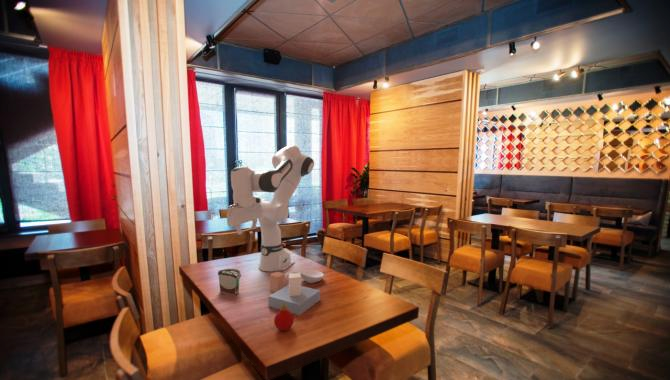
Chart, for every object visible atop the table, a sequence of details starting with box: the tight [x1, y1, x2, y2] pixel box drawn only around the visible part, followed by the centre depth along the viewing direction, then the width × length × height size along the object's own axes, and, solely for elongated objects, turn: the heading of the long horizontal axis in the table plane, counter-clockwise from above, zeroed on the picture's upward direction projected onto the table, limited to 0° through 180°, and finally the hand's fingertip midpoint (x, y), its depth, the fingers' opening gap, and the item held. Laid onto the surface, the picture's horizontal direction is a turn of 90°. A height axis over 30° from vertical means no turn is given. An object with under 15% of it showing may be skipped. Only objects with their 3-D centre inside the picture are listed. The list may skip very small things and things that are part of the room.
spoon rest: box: [284, 269, 325, 284], centre depth 153 cm, size 24×12×7 cm, turn 122°
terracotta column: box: [269, 271, 286, 293], centre depth 143 cm, size 5×5×8 cm
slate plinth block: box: [268, 284, 321, 316], centre depth 130 cm, size 16×16×5 cm
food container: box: [217, 268, 242, 296], centre depth 141 cm, size 12×6×10 cm, turn 65°
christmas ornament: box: [273, 303, 295, 332], centre depth 109 cm, size 7×7×10 cm
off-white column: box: [288, 273, 302, 296], centre depth 130 cm, size 5×5×8 cm
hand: (247, 231), depth 137 cm, fingers open, 8 cm apart
